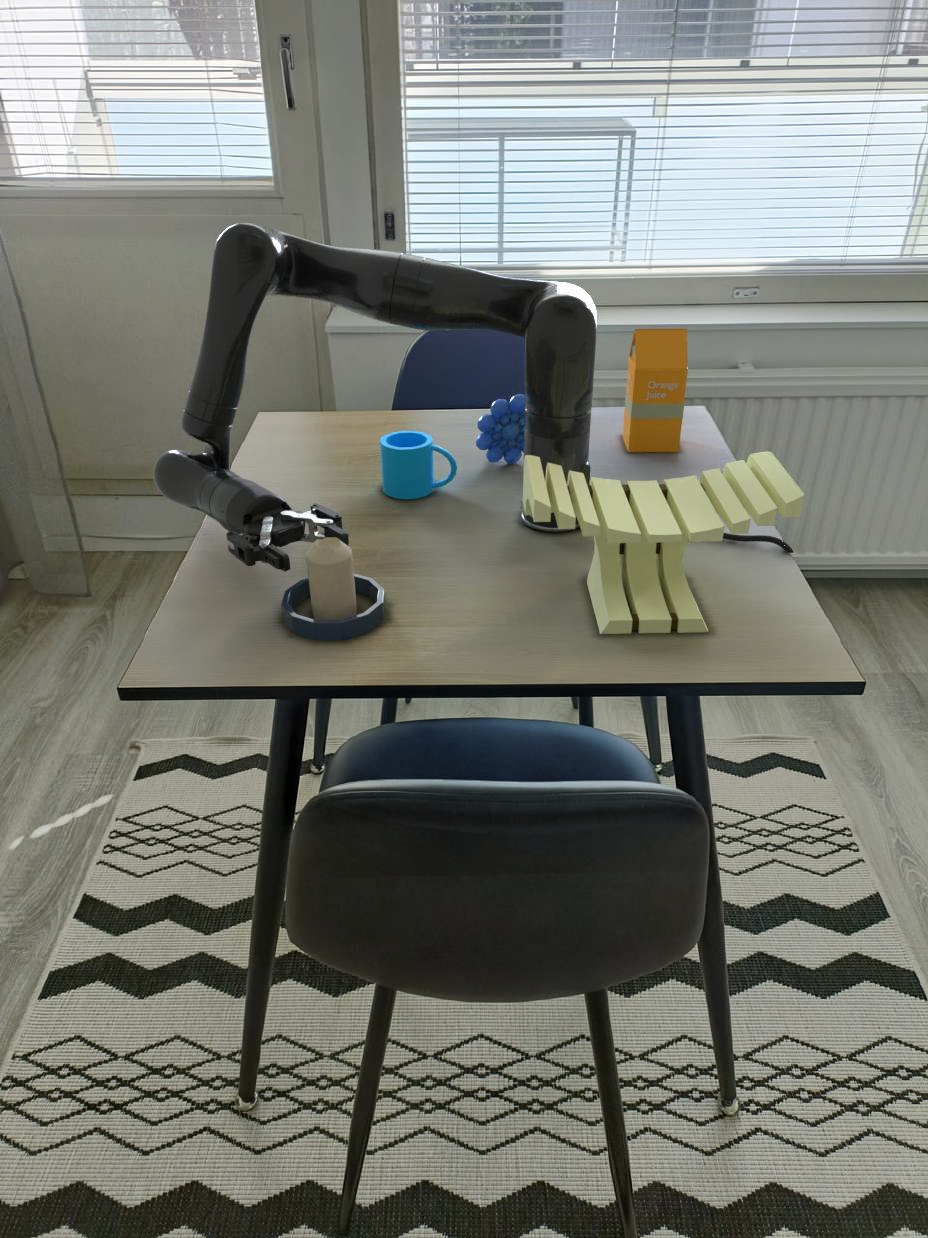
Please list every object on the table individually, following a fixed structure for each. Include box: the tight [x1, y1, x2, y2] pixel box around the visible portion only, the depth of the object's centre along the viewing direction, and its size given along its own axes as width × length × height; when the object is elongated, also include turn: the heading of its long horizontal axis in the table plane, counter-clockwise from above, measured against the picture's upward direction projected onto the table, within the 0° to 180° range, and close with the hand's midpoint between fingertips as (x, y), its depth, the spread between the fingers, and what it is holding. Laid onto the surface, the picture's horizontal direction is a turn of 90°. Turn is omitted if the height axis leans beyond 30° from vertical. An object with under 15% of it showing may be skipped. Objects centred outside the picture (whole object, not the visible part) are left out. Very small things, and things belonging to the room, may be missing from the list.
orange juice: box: [622, 328, 689, 453], centre depth 163 cm, size 8×9×20 cm
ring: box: [280, 573, 386, 641], centre depth 119 cm, size 12×12×2 cm
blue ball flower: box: [475, 393, 525, 465], centre depth 159 cm, size 12×7×12 cm, turn 90°
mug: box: [379, 430, 458, 500], centre depth 150 cm, size 12×8×8 cm
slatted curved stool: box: [522, 451, 806, 635], centre depth 118 cm, size 30×16×18 cm, turn 91°
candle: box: [305, 537, 358, 620], centre depth 117 cm, size 6×6×10 cm
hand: (317, 552), depth 118 cm, fingers open, 8 cm apart
